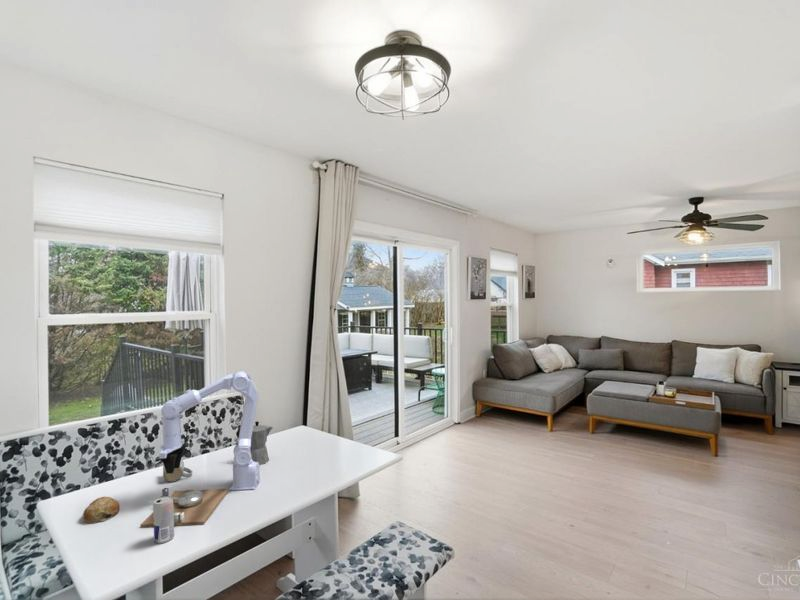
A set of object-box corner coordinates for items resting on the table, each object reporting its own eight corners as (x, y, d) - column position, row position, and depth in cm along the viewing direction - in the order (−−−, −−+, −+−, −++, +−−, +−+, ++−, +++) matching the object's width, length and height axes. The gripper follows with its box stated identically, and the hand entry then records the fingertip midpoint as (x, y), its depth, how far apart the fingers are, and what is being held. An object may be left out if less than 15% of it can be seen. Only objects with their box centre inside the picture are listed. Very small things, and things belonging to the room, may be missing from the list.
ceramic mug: (163, 484, 165) (162, 465, 165) (163, 477, 172) (163, 458, 172) (193, 479, 170) (192, 460, 170) (192, 471, 177) (191, 453, 177)
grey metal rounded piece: (206, 495, 152) (206, 482, 152) (196, 507, 144) (196, 492, 144) (166, 497, 151) (165, 484, 151) (154, 509, 143) (153, 494, 143)
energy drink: (159, 534, 130) (158, 496, 130) (177, 533, 131) (176, 495, 131) (150, 544, 125) (149, 505, 125) (169, 543, 125) (168, 503, 125)
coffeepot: (274, 456, 192) (273, 417, 191) (272, 464, 182) (271, 423, 182) (238, 459, 188) (237, 420, 188) (235, 468, 179) (234, 426, 179)
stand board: (229, 490, 158) (228, 481, 158) (203, 524, 135) (203, 514, 135) (175, 493, 157) (174, 484, 157) (140, 527, 134) (140, 517, 134)
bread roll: (89, 536, 137) (93, 517, 135) (76, 515, 141) (79, 497, 139) (122, 522, 145) (126, 503, 143) (108, 502, 150) (112, 485, 148)
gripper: (170, 427, 160) (171, 462, 160) (149, 441, 145) (151, 479, 146) (189, 426, 160) (190, 462, 161) (170, 440, 146) (171, 478, 146)
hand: (173, 470), depth 153 cm, fingers open, 4 cm apart
